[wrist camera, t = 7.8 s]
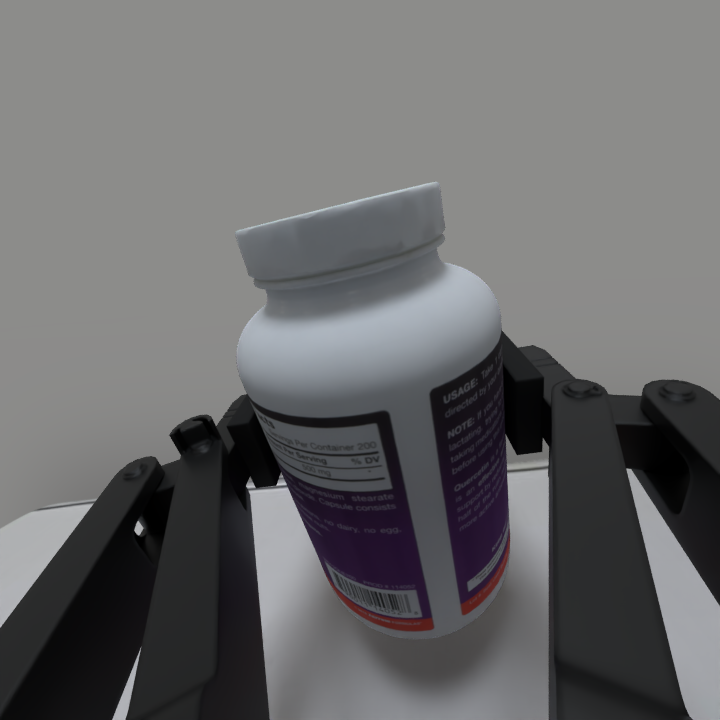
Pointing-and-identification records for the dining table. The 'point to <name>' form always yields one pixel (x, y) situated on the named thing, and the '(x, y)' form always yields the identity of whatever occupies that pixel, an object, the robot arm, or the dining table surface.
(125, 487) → the robot arm
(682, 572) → the dining table surface
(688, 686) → the dining table surface
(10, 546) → the dining table surface
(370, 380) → the pill bottle
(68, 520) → the dining table surface
